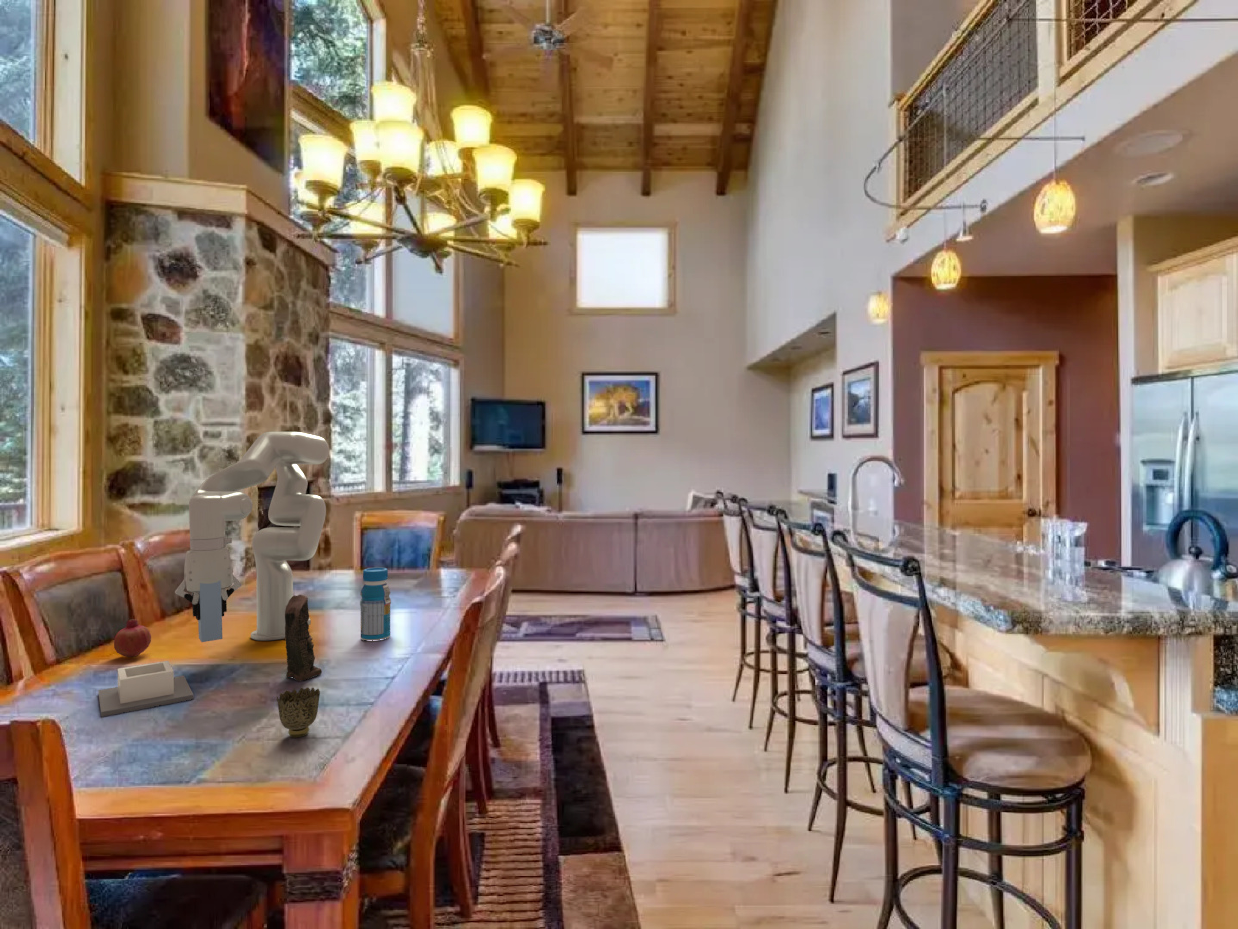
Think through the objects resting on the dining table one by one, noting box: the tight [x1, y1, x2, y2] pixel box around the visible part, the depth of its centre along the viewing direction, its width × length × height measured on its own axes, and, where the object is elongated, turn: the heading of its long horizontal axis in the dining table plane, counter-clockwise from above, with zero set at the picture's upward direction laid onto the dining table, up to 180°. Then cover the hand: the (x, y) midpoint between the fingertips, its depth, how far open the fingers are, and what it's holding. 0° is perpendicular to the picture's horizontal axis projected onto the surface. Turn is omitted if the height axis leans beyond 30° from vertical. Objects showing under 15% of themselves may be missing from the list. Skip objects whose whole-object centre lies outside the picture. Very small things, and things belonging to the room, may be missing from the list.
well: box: [97, 660, 194, 718], centre depth 150 cm, size 16×16×6 cm
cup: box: [276, 687, 321, 739], centre depth 130 cm, size 8×7×8 cm
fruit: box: [113, 618, 152, 658], centre depth 178 cm, size 8×8×10 cm
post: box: [197, 580, 223, 643], centre depth 171 cm, size 4×4×15 cm
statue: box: [284, 594, 323, 682], centre depth 163 cm, size 7×7×20 cm
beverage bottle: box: [359, 567, 392, 642], centre depth 197 cm, size 8×8×20 cm
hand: (209, 616), depth 171 cm, fingers closed on post, 4 cm apart
